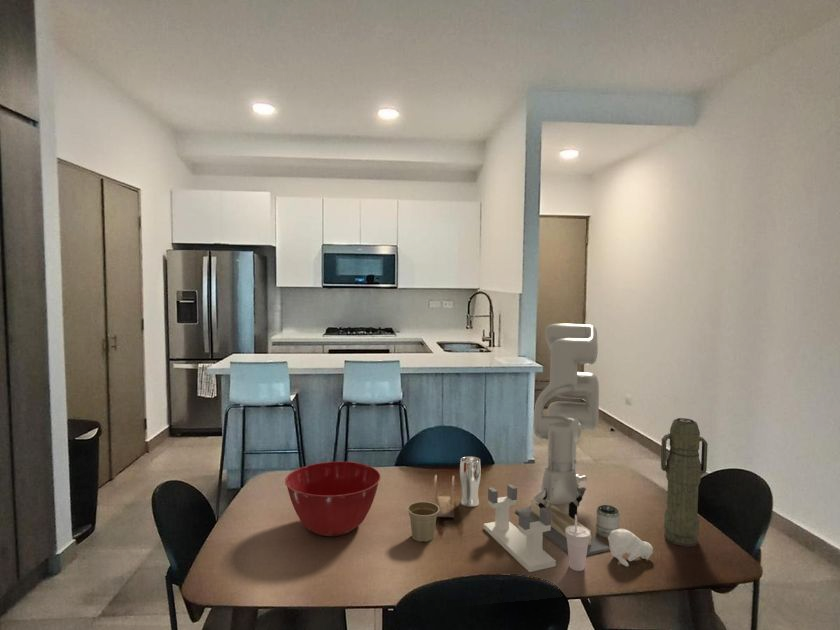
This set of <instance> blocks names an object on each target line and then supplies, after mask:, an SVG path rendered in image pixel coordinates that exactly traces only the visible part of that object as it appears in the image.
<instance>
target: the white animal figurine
mask: <svg viewBox="0 0 840 630" xmlns="http://www.w3.org/2000/svg"><path fill="white" fill-rule="evenodd" d="M607 540H608V546H609V547H610V550H609V551H610V553H611V555H612V556H613V557H614V558H615V559H617V560H618V561H619V564H621V565H623V566H625V567H629V566H630V565H629V563H628V562H632V561H634V560H635V559H637V558H639V557H640V558H641V559H643V560H644V559H645V561H646V562H648V560H649V559H650V557H651V556H653V553H654V548H653V545H652V544H650V543H649V542H648V541H642V540H641V539H640V538H639V537H638V536H636V534H635V533H634V532H631V531H630V530H628V529H625V528H619V529H617V530H613V531H611V533H610V535H609V537H608V538H607ZM624 554H626V555H628V557H627V560H628V561H627V560H626V559H625V558H623V555H624Z"/></svg>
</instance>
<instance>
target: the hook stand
mask: <svg viewBox="0 0 840 630" xmlns="http://www.w3.org/2000/svg"><path fill="white" fill-rule="evenodd" d="M506 486H507V489H506V494H507V495H506V496H500V497H498V496H499V493H498V492H499V491H498V490H497V489H495V488H494V487H493V486H492V487H491V486H490V487H488V489H487V505H488V506H489V507H491V509H493V510H494V509H495V512H494V513H495V514H494V515H495V516H494V520H495V521H491V522H487V523H485V522H484V523H483V529H484V531H486V532H487V534H489V535H490V536H491V537H492V538H493V539H494V540H495V541H496V542H497V543H498V544H499V545H500V546H502V548H503V549H504V550H506V551H507V552H508V553H509V554H510V556H512V557H513V558H514V559H515V560H516V561H517V562H518V563H519V564H520V565H521V566H522V567H524V568H525V569H526V570H527V571H528V573H532V572H537V571H541V570H544V569H550V568H555V567H556V566H557V563H556V562H557V561H556V560H555V559H554V558H553V556H551V555H550V554H549V553H548V552H546V551H545V550H544V549H543V542H544V541H543V538H544V537H543V535H544V534H543V532H545V531H550V530H551V512H550V511H549V510H547V509H546V508H545V507H544V508H540V521H536V522H531V523H530V516H529V515H528V514H527V513H525V512H524V511H522V512H519V514H518V527H517V526H515V525H514V524H513V523H512V522H511V521H510V506H516V505H517V504H518V487H517V486H515V485H514V484H512V483H511V484H507V485H506Z"/></svg>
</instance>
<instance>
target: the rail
mask: <svg viewBox="0 0 840 630" xmlns="http://www.w3.org/2000/svg"><path fill="white" fill-rule="evenodd" d="M541 502H543V499H541ZM530 504H531V505H530V507H531V512H533V513H534V514H535V515H537V516H538V517H539V518H540V507H539V506H538V505H537V504H536V502H535V499H534V498H531V503H530ZM547 504H548V503H547ZM547 504H546V505H547ZM546 505H545V507H546ZM549 511H550V512H551V527H553V528H554V529H555V530H557V531H558V532H559V533H561V534H562V535H563V536H565V537H566V538H567V536H566V535H565V529H566V528H567V527H569V526H575V520H574V519H573V518H571V517H570V516H569V514H567V513H565V512H564V511H563V510H561V508H558V507H557V506H556V505H552V506H551V508H550V509H549ZM577 526H581V527H584V528H586V529H588V530H589V531H590V535H592V530H591V529H589V528H588V527H586V526H585V525H583V524H582V523H580V522H579V521H577ZM589 545H591V537H590V539H589V542H588V546H589Z"/></svg>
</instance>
